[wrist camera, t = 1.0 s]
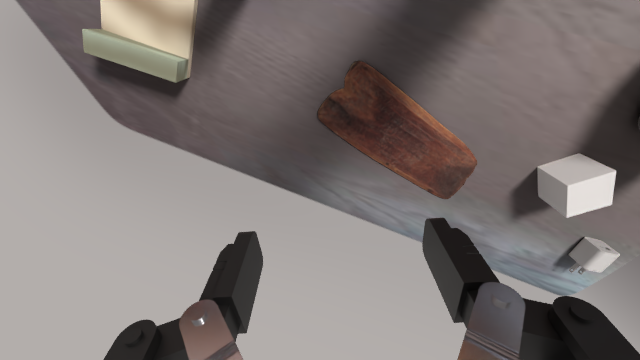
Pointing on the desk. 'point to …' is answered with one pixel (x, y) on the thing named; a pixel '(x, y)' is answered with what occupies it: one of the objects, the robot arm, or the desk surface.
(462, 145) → the wooden tablet
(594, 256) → the usb wall charger
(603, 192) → the white cube
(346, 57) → the desk surface
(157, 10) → the cradle
